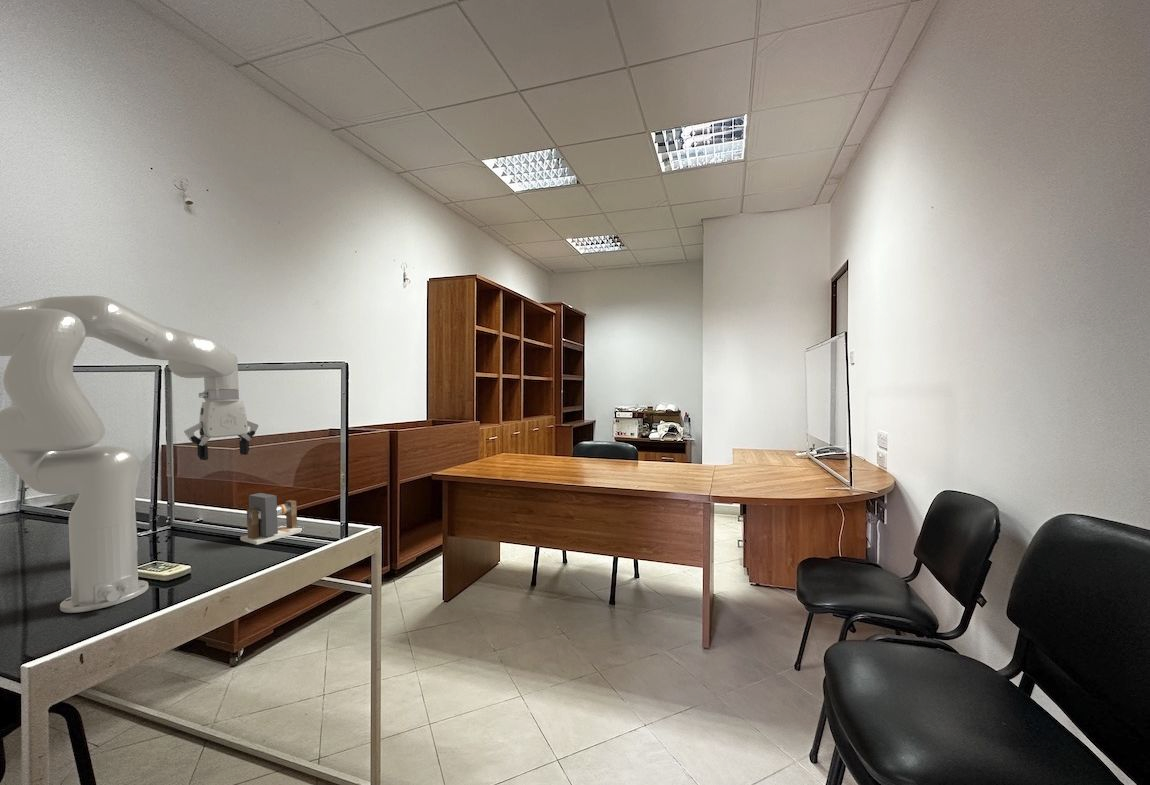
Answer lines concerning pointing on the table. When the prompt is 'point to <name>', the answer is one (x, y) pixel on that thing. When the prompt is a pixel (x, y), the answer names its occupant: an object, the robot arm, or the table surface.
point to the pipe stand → (283, 531)
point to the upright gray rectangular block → (265, 512)
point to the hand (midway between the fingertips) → (224, 456)
